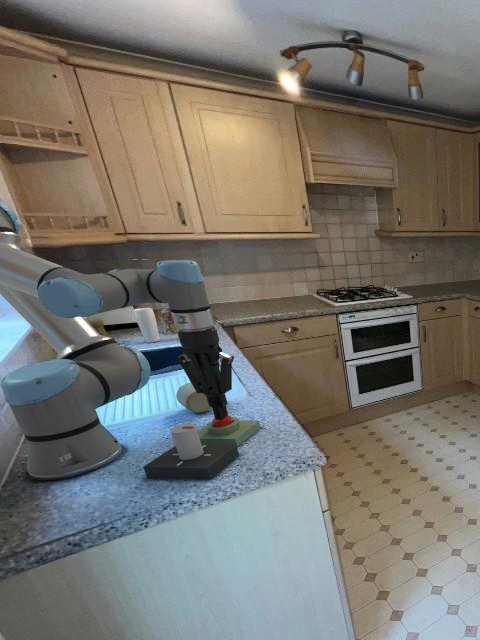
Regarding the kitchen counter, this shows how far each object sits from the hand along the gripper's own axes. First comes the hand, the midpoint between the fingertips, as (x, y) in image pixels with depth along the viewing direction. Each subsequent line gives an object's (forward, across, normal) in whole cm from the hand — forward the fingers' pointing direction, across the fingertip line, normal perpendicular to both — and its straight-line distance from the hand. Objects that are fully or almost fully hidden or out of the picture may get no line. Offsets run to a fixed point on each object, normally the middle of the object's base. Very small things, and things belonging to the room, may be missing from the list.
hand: (221, 417), depth 104 cm
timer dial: (+3, +2, -14) cm, 14 cm away
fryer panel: (+6, +2, -14) cm, 15 cm away
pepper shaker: (+5, -109, +80) cm, 135 cm away
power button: (+2, 0, 0) cm, 2 cm away
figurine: (+5, -95, +103) cm, 140 cm away
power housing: (+6, 0, 0) cm, 6 cm away
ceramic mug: (+6, -18, +17) cm, 26 cm away
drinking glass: (+5, -91, +86) cm, 125 cm away
